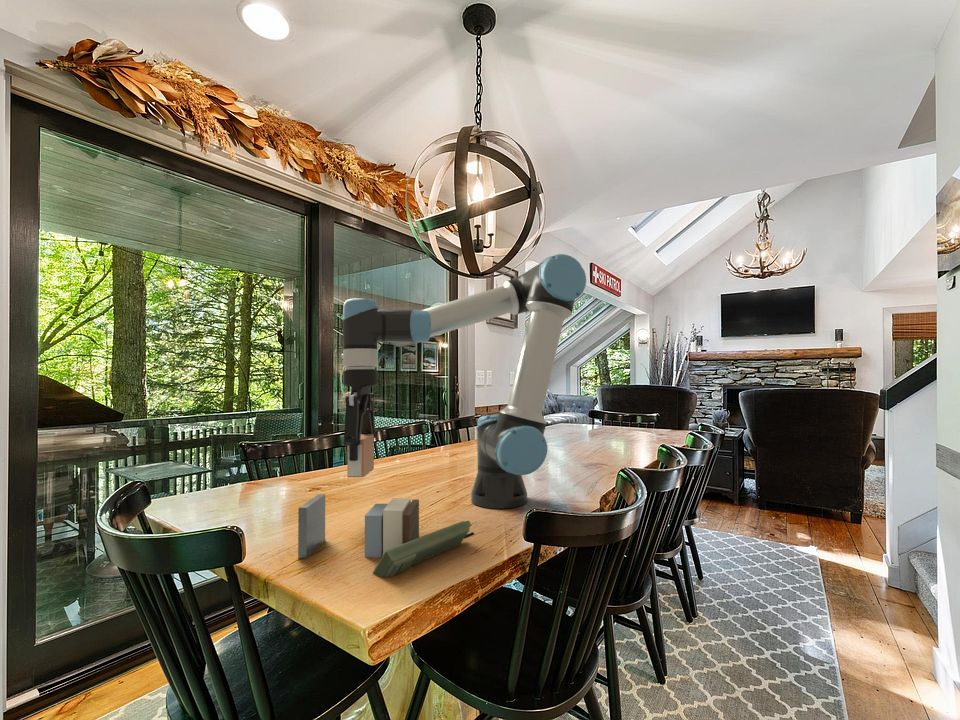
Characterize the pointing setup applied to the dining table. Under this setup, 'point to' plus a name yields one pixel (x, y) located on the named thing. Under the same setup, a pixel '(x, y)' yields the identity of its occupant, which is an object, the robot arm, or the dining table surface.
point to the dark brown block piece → (411, 522)
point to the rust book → (366, 454)
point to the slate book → (374, 531)
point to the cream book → (394, 522)
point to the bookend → (311, 525)
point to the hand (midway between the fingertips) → (361, 471)
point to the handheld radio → (421, 549)
